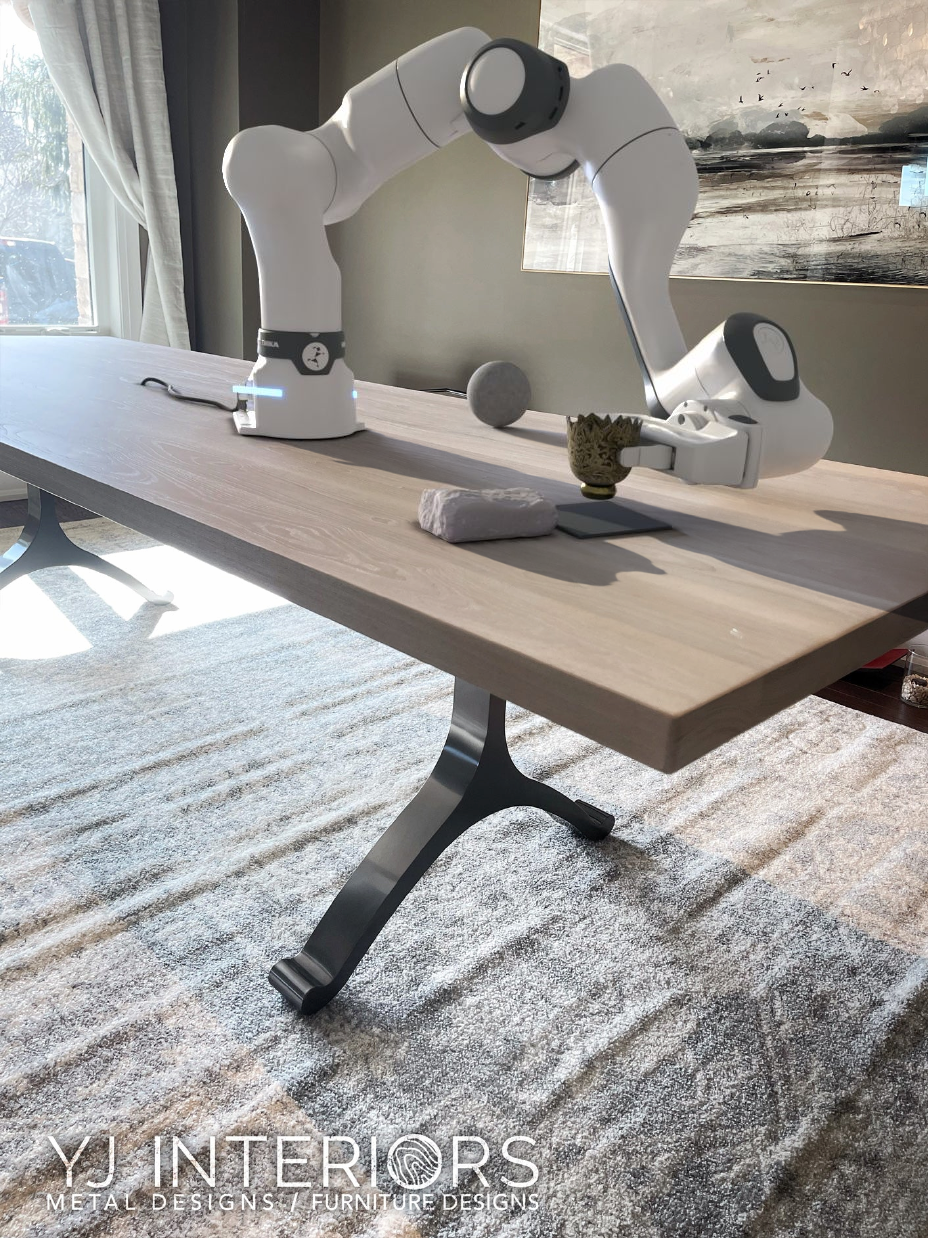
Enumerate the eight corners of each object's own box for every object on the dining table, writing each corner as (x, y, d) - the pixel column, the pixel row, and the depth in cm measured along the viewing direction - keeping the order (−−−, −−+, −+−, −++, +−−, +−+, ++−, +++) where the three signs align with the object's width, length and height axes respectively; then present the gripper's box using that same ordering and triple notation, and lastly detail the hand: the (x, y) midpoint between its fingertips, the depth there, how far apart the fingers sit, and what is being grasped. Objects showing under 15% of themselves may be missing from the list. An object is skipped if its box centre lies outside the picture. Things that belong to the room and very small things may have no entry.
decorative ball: (505, 419, 156) (509, 356, 152) (541, 429, 148) (546, 363, 144) (453, 422, 151) (456, 357, 147) (487, 433, 143) (491, 364, 139)
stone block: (408, 536, 94) (447, 543, 85) (408, 487, 93) (446, 489, 84) (516, 532, 99) (563, 539, 90) (516, 486, 98) (564, 487, 89)
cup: (592, 486, 101) (598, 409, 98) (649, 499, 96) (657, 419, 93) (546, 495, 96) (551, 415, 93) (604, 510, 91) (611, 426, 88)
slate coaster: (521, 510, 99) (521, 508, 99) (607, 503, 104) (608, 500, 103) (579, 538, 90) (580, 535, 90) (671, 528, 95) (672, 525, 94)
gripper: (646, 397, 107) (541, 401, 101) (777, 427, 90) (662, 434, 84) (640, 453, 109) (538, 460, 103) (767, 492, 93) (654, 503, 87)
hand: (594, 448), depth 94 cm, fingers closed on cup, 7 cm apart
